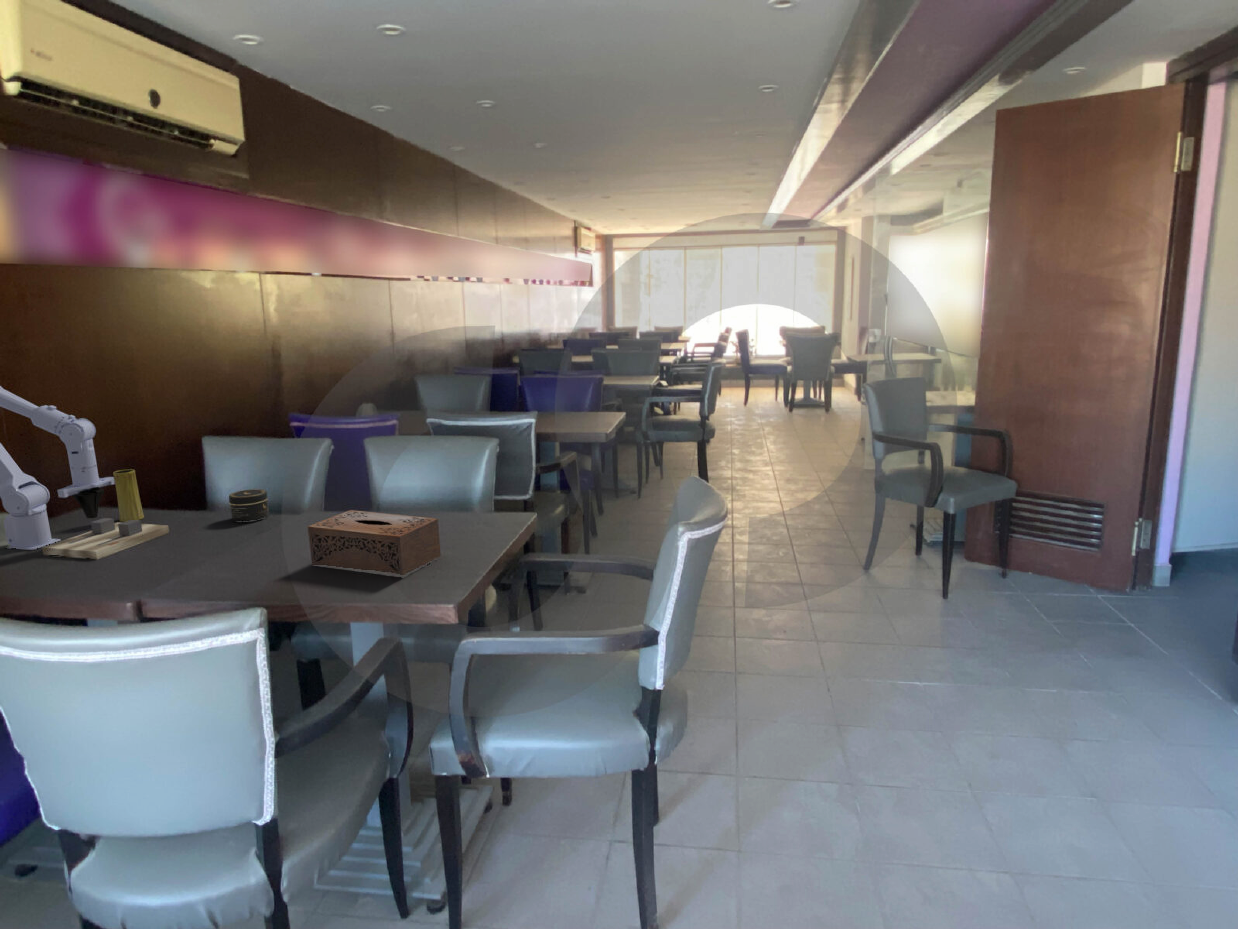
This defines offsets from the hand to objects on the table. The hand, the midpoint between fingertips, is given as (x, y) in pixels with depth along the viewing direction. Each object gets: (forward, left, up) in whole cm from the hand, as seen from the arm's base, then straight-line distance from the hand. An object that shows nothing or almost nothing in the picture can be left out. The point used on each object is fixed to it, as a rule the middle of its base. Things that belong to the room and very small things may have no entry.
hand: (92, 517), depth 204 cm
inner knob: (0, +3, -4) cm, 5 cm away
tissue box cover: (+83, 0, -7) cm, 83 cm away
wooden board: (+5, 0, -7) cm, 8 cm away
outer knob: (+9, +3, -4) cm, 11 cm away
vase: (-9, +20, -7) cm, 23 cm away
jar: (+26, +27, -7) cm, 38 cm away
